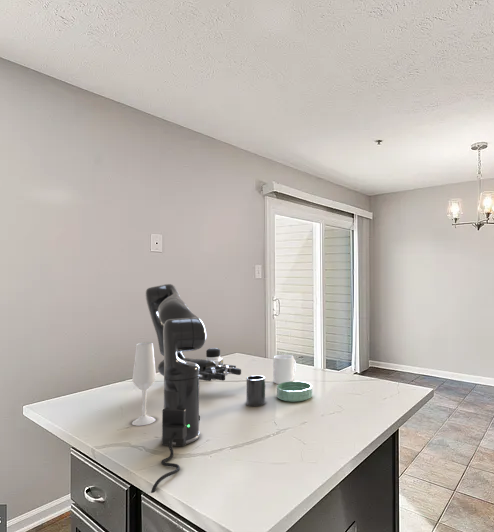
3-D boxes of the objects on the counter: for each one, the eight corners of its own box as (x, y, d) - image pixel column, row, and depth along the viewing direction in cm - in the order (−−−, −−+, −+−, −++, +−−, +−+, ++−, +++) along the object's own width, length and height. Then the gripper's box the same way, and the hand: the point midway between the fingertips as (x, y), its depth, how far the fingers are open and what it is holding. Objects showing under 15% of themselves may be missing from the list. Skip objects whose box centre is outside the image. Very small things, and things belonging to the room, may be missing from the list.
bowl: (308, 403, 133) (308, 392, 133) (272, 401, 135) (272, 390, 135) (315, 392, 146) (315, 381, 146) (281, 390, 148) (281, 380, 148)
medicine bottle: (218, 377, 167) (218, 350, 168) (202, 377, 167) (202, 350, 168) (223, 373, 174) (223, 347, 175) (207, 373, 174) (207, 347, 175)
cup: (261, 406, 130) (261, 380, 130) (243, 405, 131) (243, 379, 131) (267, 400, 136) (267, 375, 136) (250, 399, 137) (250, 375, 137)
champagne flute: (143, 426, 113) (144, 346, 113) (126, 423, 115) (127, 344, 116) (160, 418, 119) (161, 342, 120) (144, 416, 122) (144, 341, 122)
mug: (303, 379, 163) (303, 355, 163) (283, 386, 154) (283, 359, 154) (289, 376, 169) (289, 352, 169) (269, 382, 160) (269, 356, 160)
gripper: (186, 363, 140) (219, 368, 133) (214, 356, 153) (245, 360, 145) (186, 383, 140) (218, 390, 133) (214, 374, 153) (245, 380, 145)
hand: (232, 374), depth 139 cm, fingers open, 8 cm apart
